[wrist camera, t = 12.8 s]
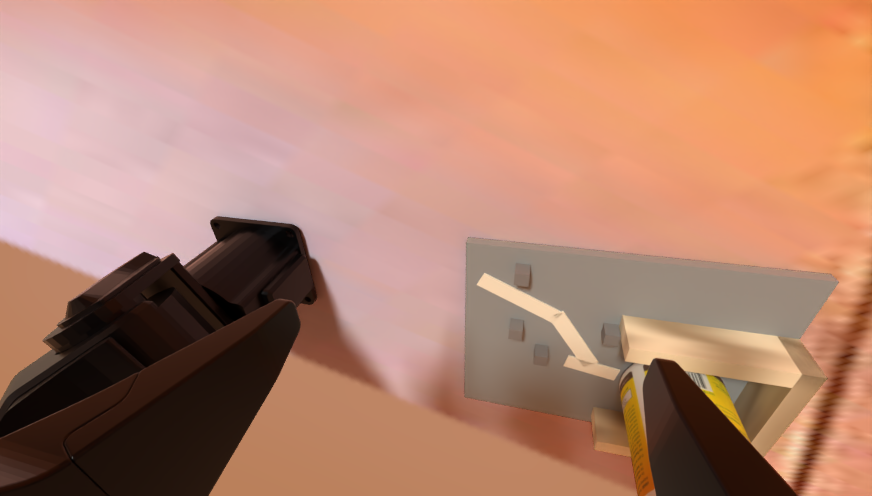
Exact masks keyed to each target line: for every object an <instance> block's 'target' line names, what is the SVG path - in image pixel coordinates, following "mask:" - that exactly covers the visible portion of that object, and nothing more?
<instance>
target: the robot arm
mask: <svg viewBox="0 0 872 496" xmlns="http://www.w3.org/2000/svg"><path fill="white" fill-rule="evenodd" d="M210 224H211V227H212V229H213V232H214V234H215V237H216V239H217V242H215V243H214V244H213V245H211V246H210V247H209V248H207V249H206V250H205V251H203V252H202V253H200V254H199V255H198V256H196V257H195V258H194V259H192V260H191V261H190V262H188V263H187V264H186V265H184V266H182V265H181V263H180V262H179V261H180V260H179V259H178V258H177V256H176V255H175V254H174V253H172V254H170V255H168V256H166V257H164V258H162V259H160V258H159V257H158V256H157V257H156V256H153V255H151V254H148V253H146V252H143V253H141V254H139V255H137V256H136V257H134V258H133V259H131V260H129V261H128V262H126V263H125V264H123V265H122V266H120V267H118V268H117V269H115V270H114V271H112V272H111V273H109V274H108V275H106V276H105V277H103V278H102V279H100V280H99V281H98V282H96V283H95V284H93V285H92V286H91V287H89V288H88V289H86V290H85V291H84V292H82V293H81V294H79V295H78V296H76V297H75V298H73V299H72V300H71V301H69V302H68V306H67V312H66V317H65V318H64V319H63V320H62V321H61V322H59V323H58V324H57V326H58V327H57V328H56V329H55V330H54V331H52V332H51V333H50V334H49V335H48V336H47V337H45V338H44V339H43V342H44V343H46V344H47V345H48V346H49V347H50V348H52V350H51V351H49V352H48V353H46V354H45V355H43V356H42V357H40V358H39V359H38V360H36V361H35V362H33V363H32V364H30V365H29V366H27V367H26V368H25V369H23V370H22V371H20V372H19V373H18V374H17V375H15V377H14V378H13V379H12V381H11V382H10V384H9V386H8V388H7V390H6V391H5V393H4V395H3V397H2V399H1V400H0V496H209V494H210V492H211V491H212V489H213V487H214V485H215V484H216V482H217V480H218V479H219V477H220V475H221V474H222V472H223V470H224V468H225V467H226V465H227V463H228V462H229V460H230V458H231V457H232V455H233V453H234V452H235V450H236V448H237V446H238V445H239V443H240V441H241V440H242V438H243V436H244V435H245V433H246V431H247V429H248V428H249V426H250V424H251V423H252V421H253V419H254V418H255V416H256V414H257V412H258V411H259V409H260V407H261V406H262V404H263V402H264V401H265V399H266V397H267V395H268V394H269V392H270V390H271V388H272V387H273V385H274V383H275V382H276V380H277V378H278V376H279V374H280V372H281V369H282V367H283V365H284V363H285V361H286V359H287V357H288V354H289V352H290V350H291V348H292V346H293V344H294V341H295V339H296V337H297V335H298V333H299V330H300V319H299V316H298V313H297V309H296V308H297V306H298V305H299V304H300V303H303V304H309V305H310V304H313V303H314V302H315V301H316V299H317V296H316V292H315V288H314V284H313V280H312V276H311V273H310V269H309V265H308V261H307V258H306V254H305V251H304V247H303V243H302V239H301V235H300V232H299V229H298V228H297V227H296V226H295V225H292V224H286V223H276V222H267V221H257V220H248V219H238V218H229V217H219V216H218V217H215V218H214V219H212V220H211V221H210ZM290 231H291V232H292V233H290ZM643 402H644V413H645V424H646V436H647V447H648V456H649V462H650V468H651V473H652V478H653V483H654V487H655V492H656V496H798V494H797V493H796V492H795V491H794V490H793V489H792V488H791V487H790V486H789V485H788V483H787V482H786V481H785V480H784V479H783V478H782V477H781V476H780V475H779V474H778V473H777V471H776V470H775V469H774V468H773V467H772V466H771V465H770V464H769V463H768V462H767V461H766V459H765V458H764V457H763V456H762V455H761V454H760V453H759V452H758V451H757V450H756V449H755V447H754V446H753V445H752V444H751V443H750V442H749V441H748V440H747V439H746V438H745V436H744V435H743V434H742V433H741V432H740V431H739V430H738V429H737V428H736V427H735V426H734V424H733V423H732V422H731V421H730V420H729V419H728V418H727V417H726V416H725V415H724V414H723V412H722V411H721V410H720V409H719V408H718V407H717V406H716V405H715V404H714V403H713V401H712V400H711V399H710V398H709V397H708V396H707V395H706V394H705V393H704V392H703V391H702V389H701V388H700V387H699V386H698V385H697V384H696V383H695V382H694V381H693V380H692V379H691V377H690V376H689V375H688V374H687V373H686V372H685V371H684V370H683V369H682V368H681V367H680V365H679V364H678V363H676V362H675V361H673V360H668V359H662V358H654V359H653V360H652V362H651V364H650V366H649V369H648V371H647V374H646V376H645V379H644V381H643Z"/></svg>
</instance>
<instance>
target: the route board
mask: <svg viewBox="0 0 872 496" xmlns="http://www.w3.org/2000/svg"><path fill="white" fill-rule="evenodd" d="M838 283H839V282H838V281H837V279H836V278H835V277H834V276H833V275H832V274H823V273H813V272H804V271H794V270H784V269H774V268H764V267H755V266H745V265H735V264H725V263H716V262H706V261H696V260H686V259H676V258H667V257H657V256H647V255H637V254H628V253H618V252H608V251H598V250H588V249H579V248H569V247H559V246H549V245H539V244H530V243H520V242H510V241H500V240H491V239H481V238H471V237H468V239H467V242H466V302H465V385H464V397H466V398H471V399H476V400H481V401H486V402H491V403H497V404H502V405H507V406H512V407H517V408H522V409H527V410H532V411H537V412H542V413H547V414H553V415H558V416H563V417H568V418H573V419H578V420H583V421H588V422H591V413H592V410H593V407H598V408H603V409H609V410H614V411H619V412H623V409H622V403H621V397H620V391H619V384H620V380H621V377H622V375H623V374H624V372H625V371H626V370H627V369H628V368H629V367H630V366H631V365H633V364H634V363H632V362H626V361H625V359H624V353H623V348H622V343H621V335H620V330H619V325H620V321H621V318H622V315H625V316H632V317H640V318H647V319H655V320H662V321H669V322H677V323H684V324H691V325H699V326H706V327H714V328H721V329H728V330H736V331H743V332H750V333H758V334H765V335H773V336H780V337H787V338H795V339H800V338H801V336H802V335H803V334H804V332H805V331H806V329H807V328H808V326H809V325H810V323H811V322H812V321H813V319H814V318H815V316H816V315H817V313H818V312H819V310H820V309H821V307H822V306H823V305H824V303H825V302H826V300H827V299H828V297H829V296H830V294H831V293H832V291H833V290H834V289H835V287H836V286H837V284H838ZM721 379H722V381H723V383H724V384H725V387H726V389H727V391H728V393H729V396H730V398H731V400H732V403H733V404H734V403H735V401H736V400H737V398H738V396H739V395H740V393H741V392H742V390H743V389H744V387H745V385H746V384H747V382H748V381H744V380H738V379H732V378H726V377H721Z"/></svg>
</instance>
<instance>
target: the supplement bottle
mask: <svg viewBox="0 0 872 496" xmlns="http://www.w3.org/2000/svg"><path fill="white" fill-rule="evenodd" d="M649 366H650V365H645V364H638V363H634V364H633V365H631V366H630V367H629V368H628V369H627V370H626V371H625V372H624V374H623V375H622V377H621V380H620V384H619V391H620V397H621V403H622V409H623V414H624V420H625V425H626V431H627V437H628V442H629V448H630V454H631V459H632V465H633V470H634V476H635V482H636V488H637V494H638V496H656V492H655V487H654V483H653V478H652V473H651V468H650V462H649V456H648V447H647V436H646V424H645V413H644V402H643V381H644V379H645V376H646V374H647V371H648V369H649ZM685 372H686V373H687V374H688V375H689V376H690V377H691V379H692V380H693V381H694V382H695V383H696V384H697V385H698V386H699V387H700V388H701V389H702V391H703V392H704V393H705V394H706V395H707V396H708V397H709V398H710V399H711V400H712V401H713V403H714V404H715V405H716V406H717V407H718V408H719V409H720V410H721V411H722V412H723V414H724V415H725V416H726V417H727V418H728V419H729V420H730V421H731V422H732V423H733V424H734V426H735V427H736V428H737V429H738V430H739V431H740V432H741V433H742V434H743V435H744V436H745V438H746V439H747V440H748V441H749V442H750V440H749V438H748V436H747V434H746V431H745V429H744V427H743V425H742V423H741V420H740V418H739V416H738V414H737V411H736V409H735V407H734V405H733V403H732V400H731V398H730V396H729V393H728V391H727V389H726V387H725V384H724V383H723V381H722V379H721V377H719V376H713V375H707V374H701V373H695V372H688V371H685ZM750 443H751V442H750Z"/></svg>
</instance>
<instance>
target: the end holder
mask: <svg viewBox="0 0 872 496" xmlns="http://www.w3.org/2000/svg"><path fill="white" fill-rule="evenodd" d="M619 330H620V335H621V343H622V348H623V353H624V359H625V361H626V362H632V363H638V364H645V365H650V364H651V362H652V360H653V359H654V358H662V359H668V360H673V361H675V362H676V363H678V364H679V365H680V367H681V368H682V369H683V370H684V371H688V372H695V373H701V374H707V375H713V376H719V377H726V378H732V379H738V380H744V381H748V382H747V384H746V385H745V387H744V389H743V390H742V392H741V393H740V395H739V396H738V398H737V400H736V401H735V403H734V404H733V405H734V407H735V409H736V411H737V414H738V416H739V418H740V420H741V423H742V425H743V427H744V429H745V431H746V434H747V436H748V438H749V440H750V442H751V444H752V445H753V446H754V447H755V449H756V450H757V451H758V452H759V453H760V454H761V455H762V456H763V457H764V456H765V455H766V454H767V453H768V451H769V450H770V449H771V448H772V447H773V445H774V444H775V443H776V442H777V440H778V439H779V438H780V437H781V435H782V434H783V433H784V432H785V430H786V429H787V428H788V427H789V426H790V424H791V423H792V422H793V421H794V419H795V418H796V417H797V416H798V414H799V413H800V412H801V411H802V410H803V408H804V407H805V406H806V405H807V403H808V402H809V401H810V400H811V398H812V397H813V396H814V395H815V393H816V392H817V391H818V390H819V389H820V387H821V386H822V385H823V384H824V382H825V381H826V380H827V379H828V378H827V377H826V375H825V374H824V373H823V371H822V370H821V368H820V367H819V366H818V364H817V363H816V361H815V360H814V359H813V357H812V356H811V354H810V353H809V352H808V350H807V349H806V347H805V346H804V345H803V343H802V342H801V340H800V339H795V338H787V337H780V336H773V335H765V334H758V333H750V332H743V331H736V330H728V329H721V328H714V327H706V326H699V325H691V324H684V323H677V322H669V321H662V320H655V319H647V318H640V317H632V316H625V315H622V318H621V321H620V325H619ZM591 422H592V433H593V444H594V450H598V451H603V452H608V453H612V454H617V455H622V456H627V457H631V454H630V448H629V442H628V437H627V431H626V425H625V420H624V414H623V412H619V411H614V410H609V409H603V408H598V407H593V410H592V413H591Z"/></svg>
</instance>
